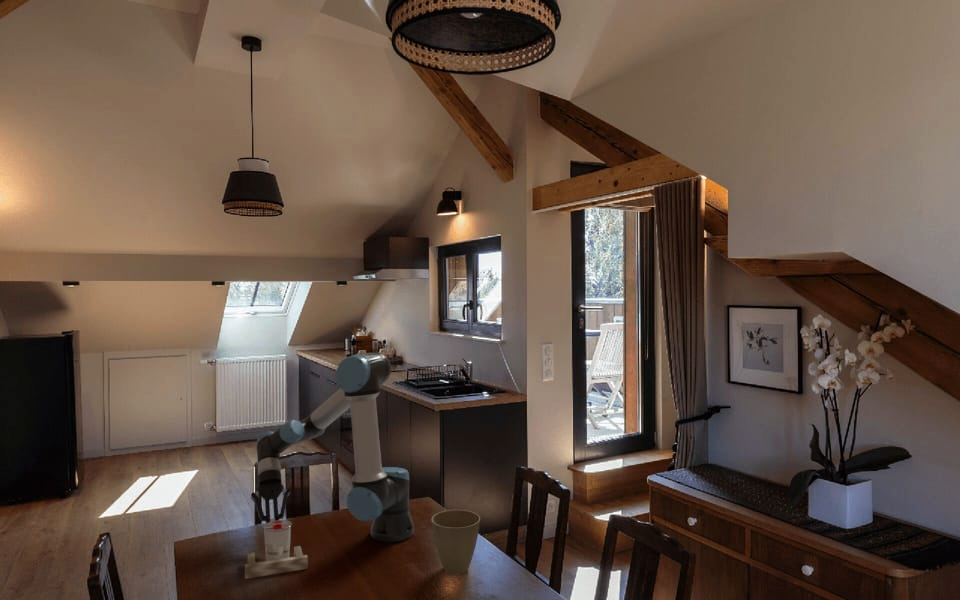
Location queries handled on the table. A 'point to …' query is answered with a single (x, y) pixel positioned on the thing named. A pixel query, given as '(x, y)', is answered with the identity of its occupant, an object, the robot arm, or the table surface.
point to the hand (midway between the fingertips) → (273, 539)
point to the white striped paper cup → (277, 539)
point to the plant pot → (455, 538)
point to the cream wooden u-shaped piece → (276, 564)
